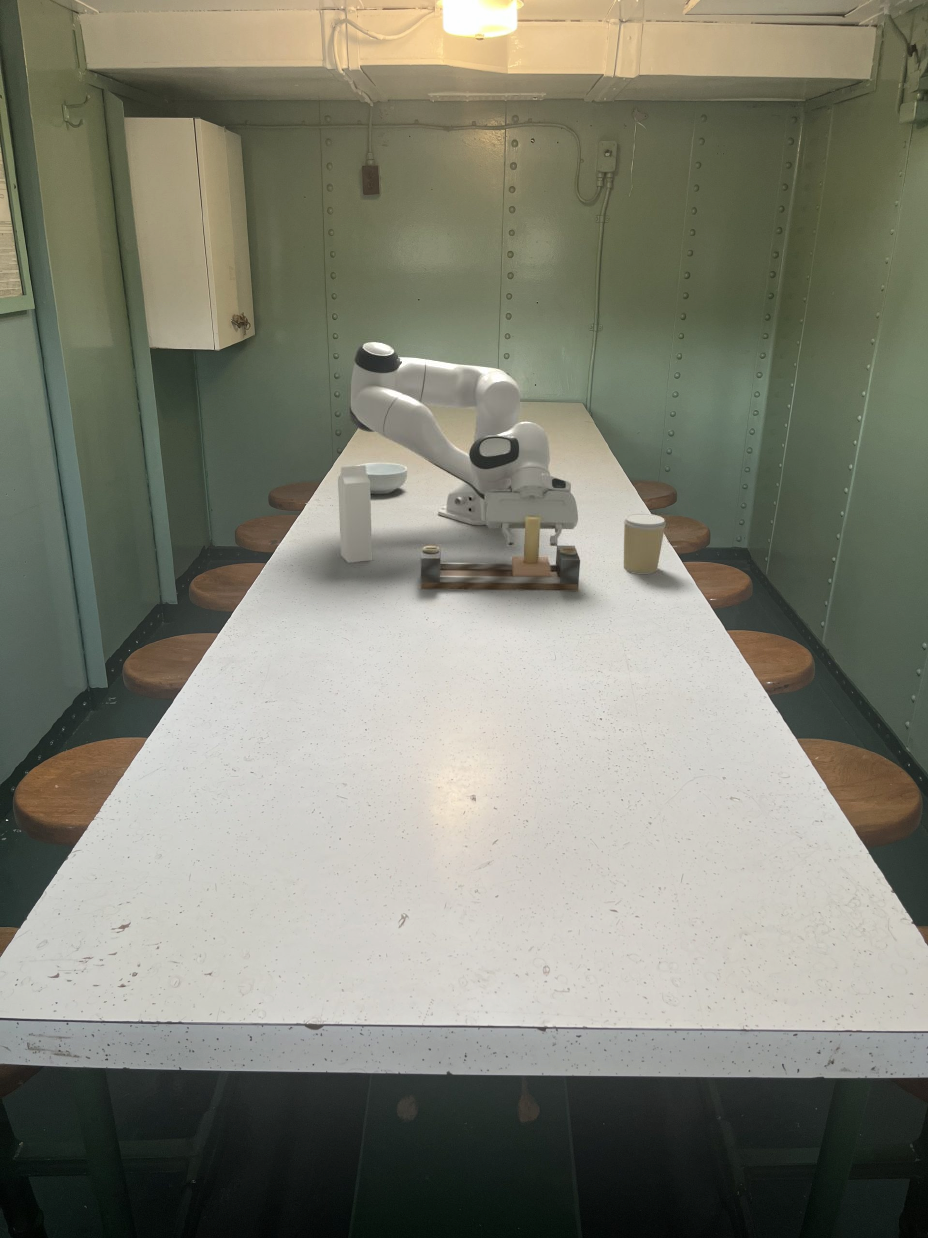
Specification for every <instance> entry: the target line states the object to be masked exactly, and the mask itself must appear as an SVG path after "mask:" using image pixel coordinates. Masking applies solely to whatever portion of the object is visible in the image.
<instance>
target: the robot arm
mask: <svg viewBox="0 0 928 1238" xmlns="http://www.w3.org/2000/svg"><path fill="white" fill-rule="evenodd" d="M351 375H352V376H351V379H350V387H351V388H350V407H349V417H350V421H351V422H352V424H354V426H355V427H356V428H357V429H359V430H361V431H364V432H368V433H376V434H378V435H380V436H382V437H384V438H386V439H387V440H389V441H392V442H394V443H396V444H398V445H400V446H402V447H403V448H406V449H408V450H410V451H411V452H412V453H415V454H416V455H418V456H419V457H421V458H423V459H424V460H426V461H427V462H429V463H431V464H432V465H434V466H435V467H437V468H439V469H440V470H442V471H444V472H445V473H448V474H449V475H451V476H453V477H454V478H456V479H458V480H460V481H462V482H460V483H459V484H458V485H456V486H455V487H454V488H452V489H451V490H450V491H449V492H448V495H447V500H446V505H444V506H441V507H440V508H439V509H438V511H437V513H438V514H437V515H439V516H442V517H445V518H449V519H453V520H456V521H459V522H462V523H465V524H469V525H473V526H484V525H486V526H487V527H488V529H501V533H502V535H503V537H505V539H506V546H514V545H515V535H513V534H510V532H509V529H523V530H525V521H526V517H527V516H538V517H540V530H541V529H542V530H543V529H544V530H554V533H555V534H554V535H550V538H549V546H550V547H557V545H558V541H559V537H560V536H561V535H562V532H563V530H574V529H575V528H576V527H577V525H578V522H579V514H578V513H579V512H578V506H577V501H576V498H575V496H574V495H573V493H572V484H571V482H570V481H569V480H565V479H562V478H560V477H559V478H558V477H556V476H552V475H551V473H550V469H549V465H550V457H551V456H550V446H549V439H548V436H547V435H548V434H547V432H546V431H545V429H544V428H543V427H542V426H540V425H539V424H538V423H535V422H531V421H520V422H519V416H520V410H521V409H520V407H521V394H522V393H521V390H520V387H519V384H518V383H517V382H516V380H514V379H513V378H512V377H511V376H510V375H509V374H508V373H506V372H505V371H503V370H502V369H500V368H494V367H486V366H479V365H471V364H470V365H469V364H468V365H467V364H456V363H450V362H445V361H439V360H438V361H437V360H431V359H425V358H424V359H423V358H417V357H403V356H402V357H400V356H399V354H398V352H396V351H395V349H394V348H392V347H391V346H390V345H389V344H386V343H382V342H375V341H370V342H366V343H364V344H362V345H360V346H359V347H358V348H357V351H356V353H355V356H354V365H353V370H352V374H351ZM426 405H429V406H433V407H434V406H436V407H442V408H448V409H453V408H454V409H455V408H456V409H474V410H476V416H475V417H476V418H475V427H474V436H473V443H472V445H471V447H470V448H469V453H467V452H466V451H464V450H462V449H461V448H459V447H457V446H455V445H454V444H453V443H452V442H450V440H449V439H448V438H447V436H446V435H445V434H444V433H443V431H442V428H440V426H439V424H438V422H437V421H436V418H435V416H434V414H433V413H432V411H431V409H430V408H428V407H427V406H426Z"/></svg>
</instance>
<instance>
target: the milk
mask: <svg viewBox="0 0 928 1238" xmlns="http://www.w3.org/2000/svg"><path fill="white" fill-rule="evenodd" d="M337 489H338V490H337V491H338V496H337V497H338V513H339V515H338V516H339V517H338V518H339V535H340V536H339V538H340V542H339V543H340V556H341V557H342V558H343V559H344V560H345V562H347V563H348V564H350V563H351V564H352V563H360V562H367V561H373V546H372V545H373V541H372V540H373V539H372V508H371V507H372V505H371V504H372V503H371V498H372V497H371V493H370V480H369V478H368V475H367V473H366V466H365V465H362V466H357V465H353V466H341V468H340V475H339V476H338V477H337Z"/></svg>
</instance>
